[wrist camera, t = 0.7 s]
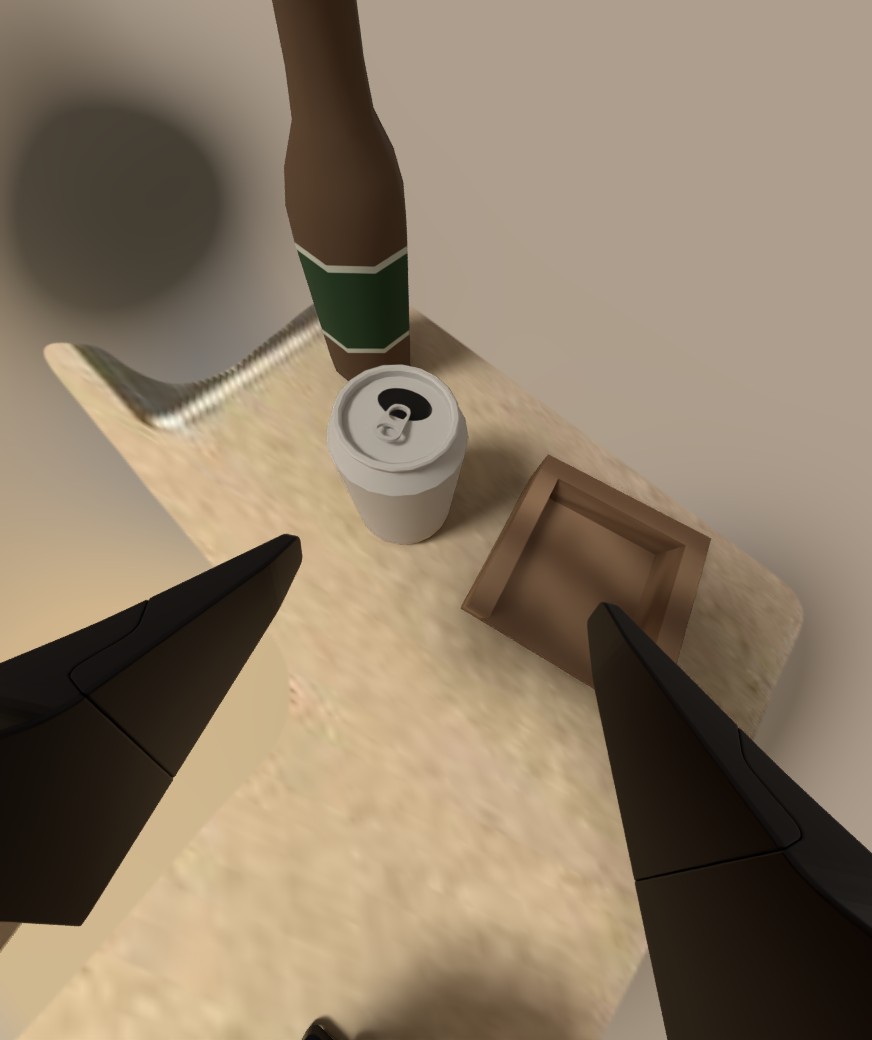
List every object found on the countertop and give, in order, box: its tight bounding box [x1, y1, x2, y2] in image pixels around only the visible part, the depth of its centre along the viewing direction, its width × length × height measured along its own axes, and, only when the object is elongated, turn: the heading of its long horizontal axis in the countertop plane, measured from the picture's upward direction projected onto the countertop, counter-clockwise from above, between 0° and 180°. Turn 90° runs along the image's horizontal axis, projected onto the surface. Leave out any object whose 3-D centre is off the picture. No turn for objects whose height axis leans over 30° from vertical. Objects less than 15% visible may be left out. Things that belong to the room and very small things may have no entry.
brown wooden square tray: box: [461, 455, 711, 688], centre depth 23 cm, size 13×13×4 cm
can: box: [327, 365, 468, 545], centre depth 21 cm, size 8×8×12 cm
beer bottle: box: [272, 0, 410, 381], centre depth 20 cm, size 8×8×24 cm
